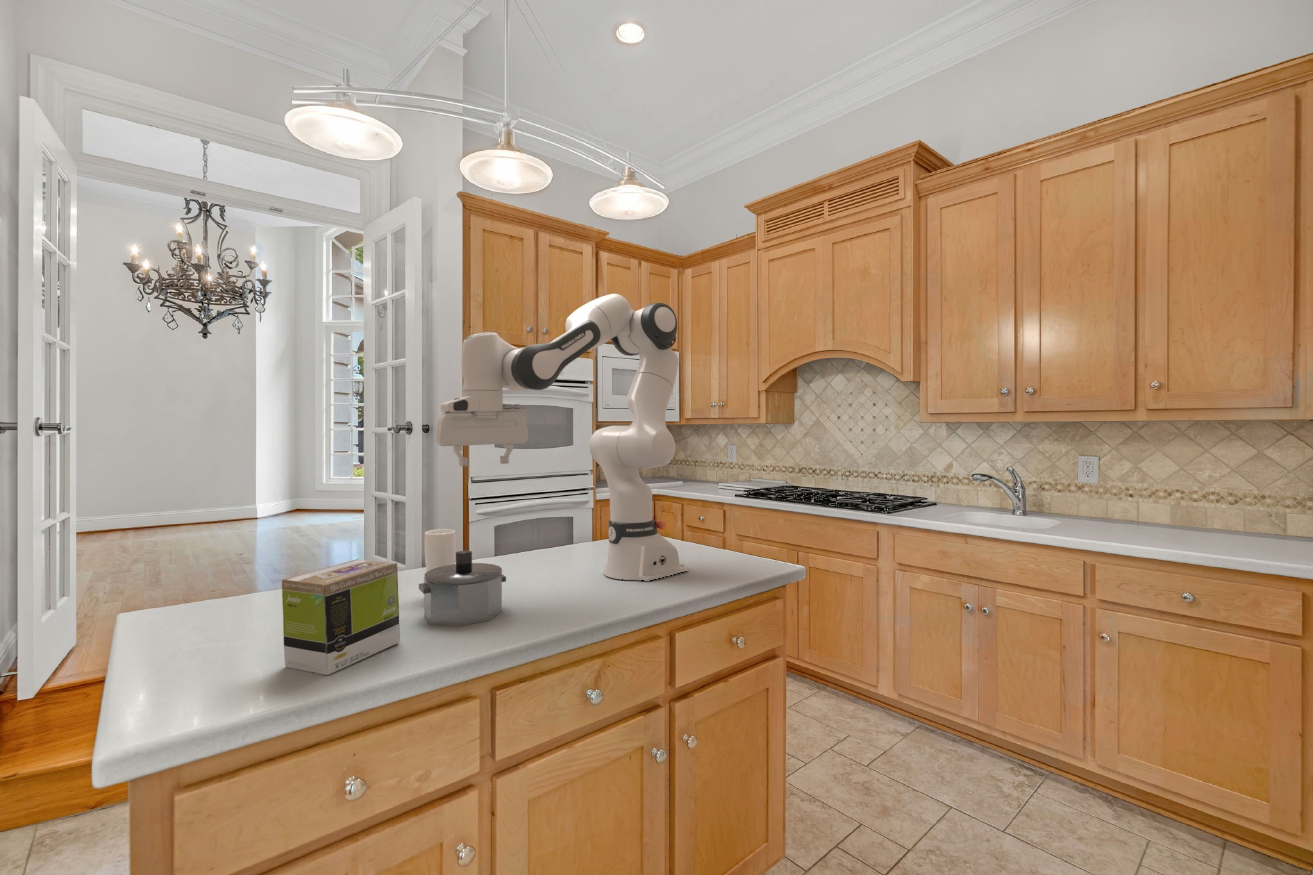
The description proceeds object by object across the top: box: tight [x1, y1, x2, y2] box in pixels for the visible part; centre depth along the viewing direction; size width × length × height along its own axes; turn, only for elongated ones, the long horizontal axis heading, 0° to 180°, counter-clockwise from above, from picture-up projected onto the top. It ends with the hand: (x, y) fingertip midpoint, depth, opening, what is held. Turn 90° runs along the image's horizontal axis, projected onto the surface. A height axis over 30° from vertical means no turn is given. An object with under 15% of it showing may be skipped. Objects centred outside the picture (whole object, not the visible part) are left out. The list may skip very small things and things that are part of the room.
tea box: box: [281, 558, 401, 676], centre depth 100 cm, size 15×10×15 cm
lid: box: [424, 550, 503, 585], centre depth 122 cm, size 15×15×6 cm
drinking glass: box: [423, 528, 457, 573], centre depth 134 cm, size 7×7×15 cm
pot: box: [418, 573, 507, 627], centre depth 122 cm, size 17×14×8 cm
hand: (484, 464), depth 134 cm, fingers open, 8 cm apart
